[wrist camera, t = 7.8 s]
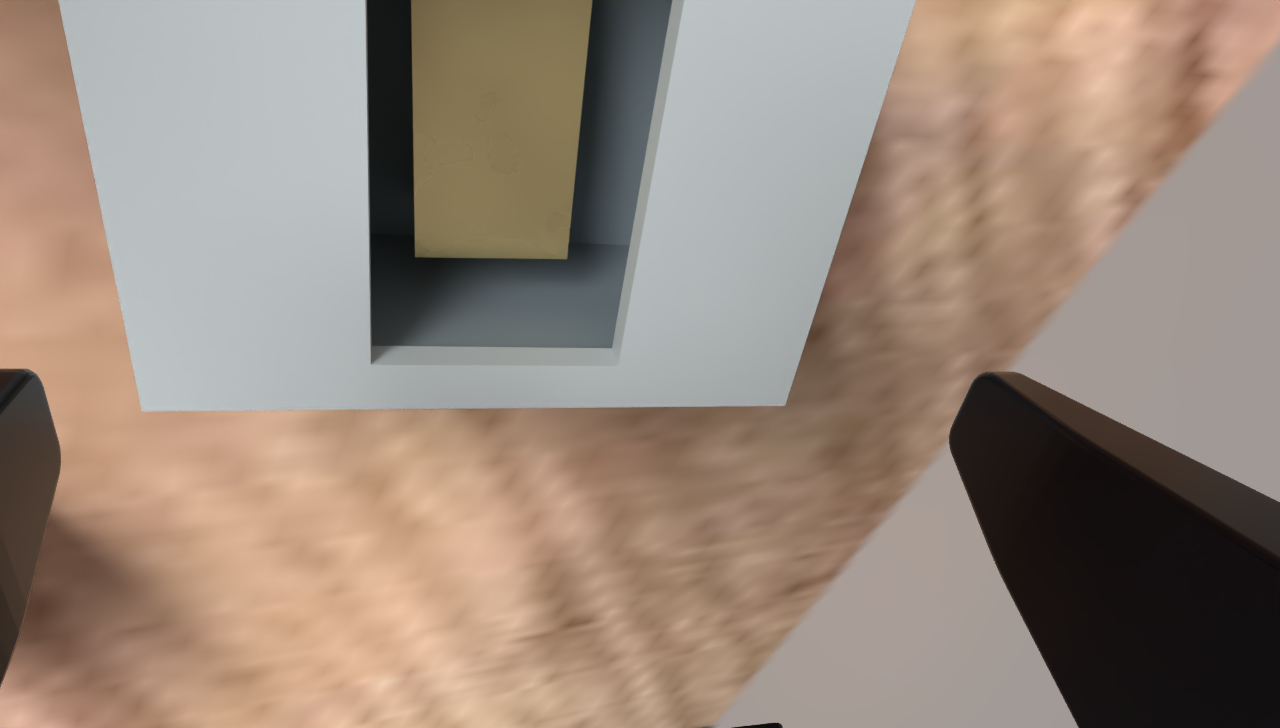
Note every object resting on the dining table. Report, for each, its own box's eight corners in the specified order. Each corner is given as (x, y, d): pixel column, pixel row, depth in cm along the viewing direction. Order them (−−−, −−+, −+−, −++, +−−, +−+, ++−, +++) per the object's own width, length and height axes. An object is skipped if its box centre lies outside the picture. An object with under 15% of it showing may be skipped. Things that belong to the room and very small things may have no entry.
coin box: (807, -177, 17) (961, -140, 12) (705, 265, 23) (785, 405, 18) (130, -307, 14) (-8, -325, 9) (204, 245, 19) (141, 411, 15)
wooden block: (570, -93, 17) (598, -63, 14) (547, 196, 20) (566, 259, 18) (408, -112, 16) (409, -84, 13) (413, 192, 19) (415, 256, 17)
